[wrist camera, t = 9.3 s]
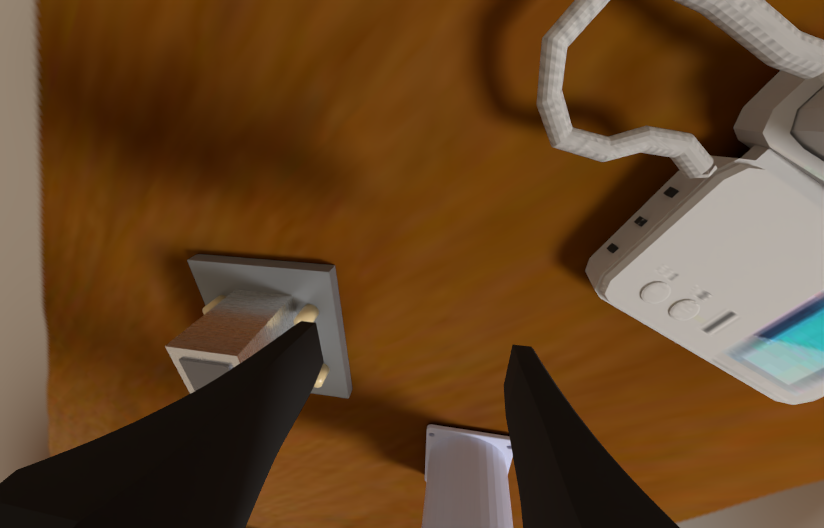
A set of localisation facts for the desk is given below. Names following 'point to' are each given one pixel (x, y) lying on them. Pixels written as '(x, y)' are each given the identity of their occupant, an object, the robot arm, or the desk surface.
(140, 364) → the desk surface
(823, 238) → the intercom
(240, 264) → the tray
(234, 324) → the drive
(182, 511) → the robot arm
